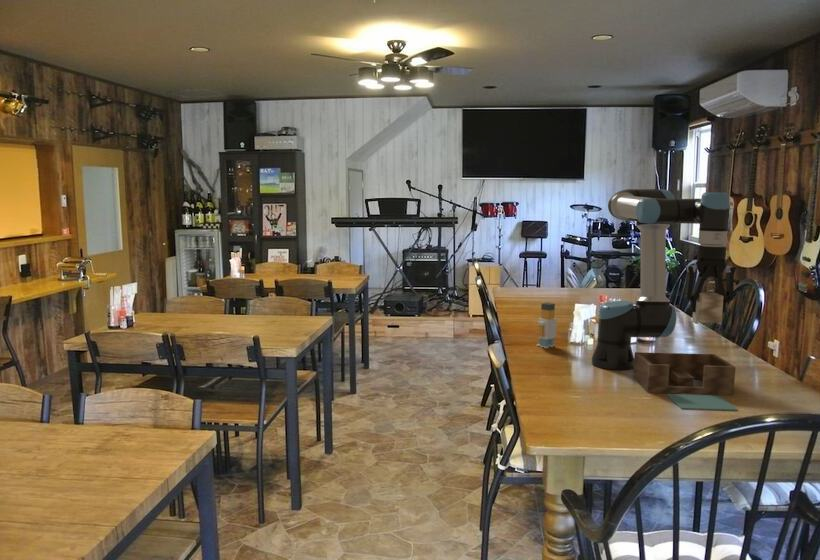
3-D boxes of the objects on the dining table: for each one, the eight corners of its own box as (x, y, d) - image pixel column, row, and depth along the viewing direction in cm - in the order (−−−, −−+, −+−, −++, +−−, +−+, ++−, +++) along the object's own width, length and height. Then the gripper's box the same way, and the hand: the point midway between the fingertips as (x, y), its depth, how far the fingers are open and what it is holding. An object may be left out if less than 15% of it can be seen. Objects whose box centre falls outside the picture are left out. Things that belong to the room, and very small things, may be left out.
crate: (647, 392, 203) (649, 364, 201) (633, 377, 219) (634, 352, 218) (733, 394, 201) (735, 367, 200) (712, 380, 217) (714, 354, 216)
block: (700, 322, 187) (702, 295, 186) (692, 318, 193) (694, 292, 192) (721, 323, 186) (723, 296, 185) (713, 319, 192) (715, 292, 191)
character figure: (535, 348, 260) (537, 304, 257) (537, 342, 270) (538, 300, 267) (555, 349, 258) (557, 305, 255) (556, 344, 268) (557, 301, 265)
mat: (681, 409, 187) (681, 407, 187) (666, 395, 200) (666, 394, 200) (737, 410, 186) (737, 409, 186) (719, 396, 199) (719, 395, 199)
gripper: (683, 246, 184) (678, 325, 187) (751, 246, 182) (745, 326, 185) (674, 244, 191) (669, 320, 194) (740, 244, 190) (734, 321, 193)
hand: (706, 323), depth 190 cm, fingers closed on block, 6 cm apart
